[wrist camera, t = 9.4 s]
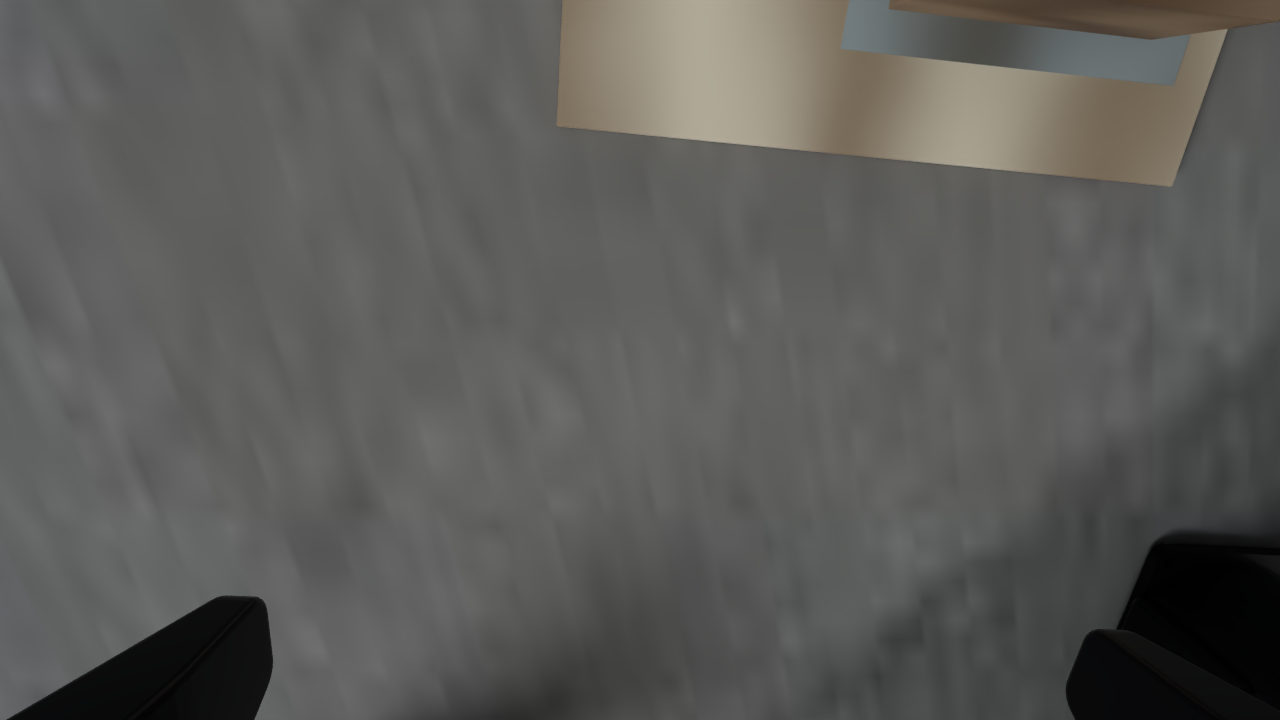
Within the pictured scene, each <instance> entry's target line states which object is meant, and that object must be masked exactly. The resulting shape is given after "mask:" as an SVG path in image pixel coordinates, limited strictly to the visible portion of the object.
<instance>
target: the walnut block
mask: <svg viewBox="0 0 1280 720" xmlns="http://www.w3.org/2000/svg"><path fill="white" fill-rule="evenodd" d="M888 9H892V10H900V11H909V12H917V13H926V14H934V15H943V16H952V17H960V18H969V19H977V20H986V21H994V22H1003V23H1011V24H1020V25H1028V26H1037V27H1046V28H1054V29H1063V30H1071V31H1080V32H1088V33H1097V34H1105V35H1114V36H1122V37H1131V38H1140V39H1148V40H1154V39H1161V38H1168V37H1175V36H1182V35H1189V34H1196V33H1202V32H1209V31H1216V30H1223V29H1230V28H1237V27H1244V26H1251V25H1258V24H1264V23H1271V22H1278V21H1279V20H1280V0H890V3H889V8H888Z"/></svg>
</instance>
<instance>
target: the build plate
mask: <svg viewBox="0 0 1280 720" xmlns="http://www.w3.org/2000/svg"><path fill="white" fill-rule="evenodd" d="M889 3H890V0H563V5H562V26H561V46H560V67H559V88H558V108H557V126H559V127H570V128H580V129H590V130H600V131H610V132H621V133H631V134H641V135H651V136H661V137H671V138H682V139H692V140H702V141H712V142H722V143H733V144H743V145H753V146H763V147H773V148H783V149H794V150H804V151H814V152H824V153H834V154H845V155H855V156H865V157H875V158H885V159H895V160H906V161H916V162H926V163H936V164H946V165H957V166H967V167H977V168H987V169H997V170H1007V171H1018V172H1028V173H1038V174H1048V175H1058V176H1069V177H1079V178H1089V179H1099V180H1109V181H1119V182H1130V183H1140V184H1150V185H1160V186H1170V187H1172V185H1173V183H1174V180H1175V177H1176V174H1177V171H1178V168H1179V166H1180V163H1181V160H1182V157H1183V154H1184V151H1185V149H1186V146H1187V143H1188V140H1189V137H1190V135H1191V132H1192V129H1193V126H1194V123H1195V120H1196V118H1197V115H1198V112H1199V109H1200V106H1201V103H1202V101H1203V98H1204V95H1205V92H1206V89H1207V87H1208V84H1209V81H1210V78H1211V75H1212V72H1213V70H1214V67H1215V64H1216V61H1217V58H1218V56H1219V53H1220V50H1221V47H1222V44H1223V41H1224V39H1225V36H1226V33H1227V30H1228V29H1223V30H1216V31H1209V32H1202V33H1196V34H1189V35H1182V36H1175V37H1168V38H1161V39H1154V40H1148V39H1140V38H1131V37H1122V36H1114V35H1105V34H1097V33H1088V32H1080V31H1071V30H1063V29H1054V28H1046V27H1037V26H1028V25H1020V24H1011V23H1003V22H994V21H986V20H977V19H969V18H960V17H952V16H943V15H934V14H926V13H917V12H909V11H900V10H892V9H888V8H889Z"/></svg>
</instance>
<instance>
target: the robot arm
mask: <svg viewBox="0 0 1280 720" xmlns="http://www.w3.org/2000/svg"><path fill="white" fill-rule="evenodd" d="M272 668H273V655H272V646H271V638H270V629H269V621H268V613H267V608H266V604H265V603H264V601H263V600H262V599H260V598H258V597H251V596H220V597H217V598H215V599H213V600H211V601H209V602H207V603H206V604H204V605H202V606H200V607H199V608H197V609H195V610H194V611H192V612H190V613H188V614H187V615H185V616H183V617H182V618H180V619H178V620H176V621H175V622H173V623H171V624H170V625H168V626H166V627H164V628H163V629H161V630H159V631H158V632H156V633H154V634H152V635H151V636H149V637H147V638H146V639H144V640H142V641H140V642H139V643H137V644H135V645H134V646H132V647H130V648H128V649H127V650H125V651H123V652H122V653H120V654H118V655H116V656H115V657H113V658H111V659H110V660H108V661H106V662H104V663H103V664H101V665H99V666H98V667H96V668H94V669H92V670H91V671H89V672H87V673H86V674H84V675H82V676H80V677H79V678H77V679H75V680H74V681H72V682H70V683H68V684H67V685H65V686H63V687H62V688H60V689H58V690H56V691H55V692H53V693H51V694H50V695H48V696H46V697H44V698H43V699H41V700H39V701H38V702H36V703H34V704H32V705H31V706H29V707H27V708H26V709H24V710H22V711H20V712H19V713H17V714H15V715H14V716H12V717H10V718H9V719H7V720H254V719H255V717H256V714H257V712H258V709H259V707H260V704H261V702H262V700H263V697H264V695H265V692H266V690H267V687H268V684H269V682H270V678H271V674H272ZM1066 698H1067V702H1068V705H1069V708H1070V710H1071V712H1072V714H1073V716H1074V718H1075V720H1280V549H1266V548H1246V547H1227V546H1207V545H1187V544H1160V545H1158V546H1156V547H1155V548H1153V549H1152V550H1151V552H1150V553H1149V555H1148V557H1147V559H1146V562H1145V564H1144V566H1143V569H1142V571H1141V574H1140V576H1139V578H1138V581H1137V583H1136V586H1135V588H1134V590H1133V593H1132V595H1131V597H1130V600H1129V602H1128V605H1127V607H1126V609H1125V612H1124V614H1123V617H1122V619H1121V621H1120V624H1119V626H1118V629H1117V630H1111V629H1096V630H1092V631H1091V632H1089V633H1088V634H1087V635H1086V636H1085V638H1084V640H1083V642H1082V645H1081V647H1080V650H1079V652H1078V655H1077V657H1076V660H1075V662H1074V665H1073V667H1072V670H1071V672H1070V675H1069V677H1068V680H1067V683H1066Z"/></svg>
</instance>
